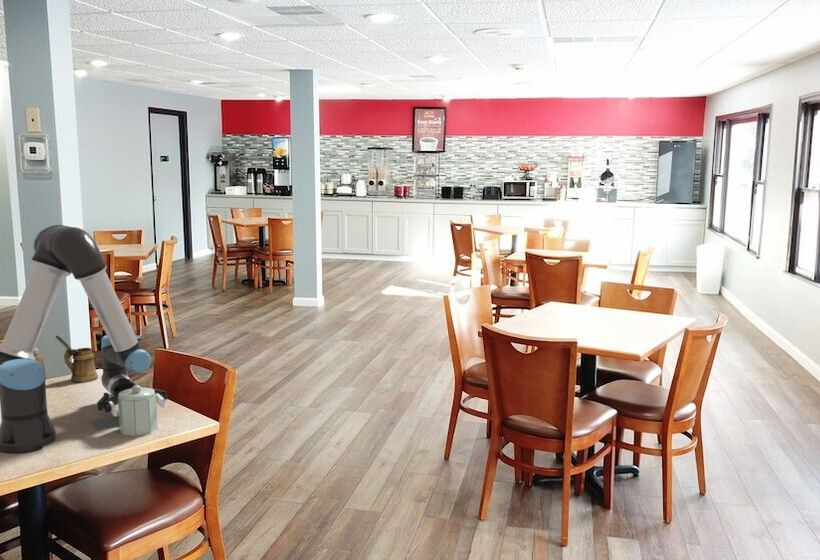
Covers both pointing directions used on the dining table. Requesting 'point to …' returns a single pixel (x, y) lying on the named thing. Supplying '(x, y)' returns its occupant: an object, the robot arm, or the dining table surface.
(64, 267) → the robot arm
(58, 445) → the dining table surface
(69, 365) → the wooden mug
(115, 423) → the mat
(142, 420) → the lidded canister jar
